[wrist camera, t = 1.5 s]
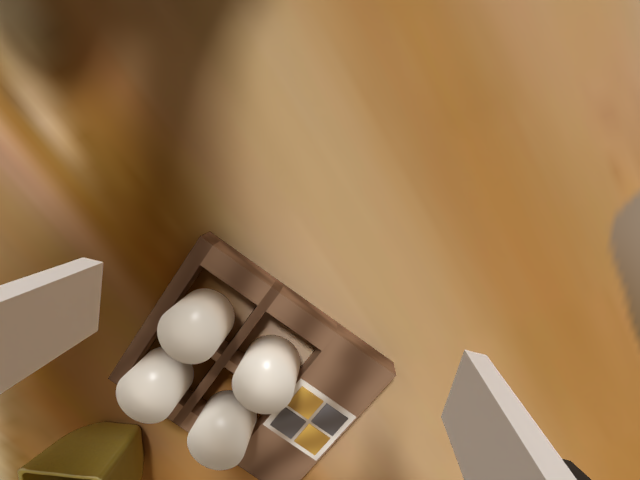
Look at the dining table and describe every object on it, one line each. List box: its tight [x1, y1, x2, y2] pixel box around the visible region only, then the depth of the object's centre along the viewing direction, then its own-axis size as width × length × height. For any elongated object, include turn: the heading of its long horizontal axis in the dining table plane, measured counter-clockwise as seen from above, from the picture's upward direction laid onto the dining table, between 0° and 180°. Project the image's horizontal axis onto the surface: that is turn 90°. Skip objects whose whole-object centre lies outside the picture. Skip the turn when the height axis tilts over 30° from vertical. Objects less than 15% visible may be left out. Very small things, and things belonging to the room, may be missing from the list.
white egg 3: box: [232, 335, 300, 414], centre depth 32 cm, size 6×6×4 cm
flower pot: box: [18, 422, 144, 480], centre depth 38 cm, size 9×9×9 cm
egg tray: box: [108, 232, 396, 480], centre depth 37 cm, size 24×20×3 cm
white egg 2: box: [157, 288, 235, 364], centre depth 32 cm, size 6×6×4 cm
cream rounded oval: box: [187, 390, 257, 470], centre depth 34 cm, size 6×6×4 cm
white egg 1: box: [116, 347, 194, 424], centre depth 34 cm, size 6×6×4 cm
